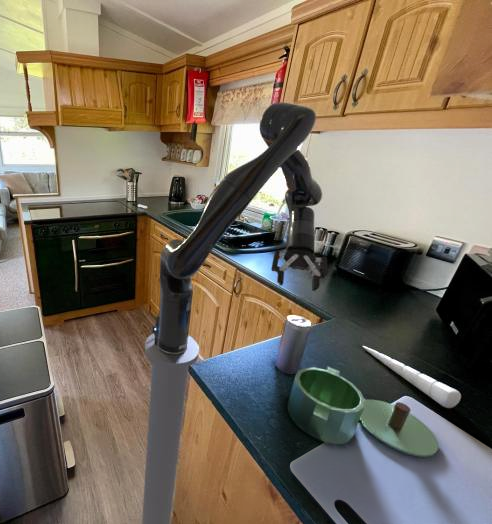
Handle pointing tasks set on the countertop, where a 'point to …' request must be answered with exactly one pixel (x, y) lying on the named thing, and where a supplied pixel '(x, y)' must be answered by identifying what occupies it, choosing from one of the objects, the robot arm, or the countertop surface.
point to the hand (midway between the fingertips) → (297, 287)
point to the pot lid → (398, 428)
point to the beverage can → (292, 344)
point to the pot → (325, 405)
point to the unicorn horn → (421, 381)
